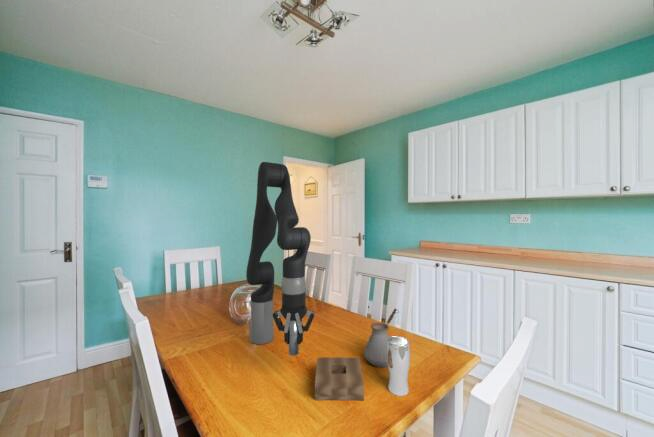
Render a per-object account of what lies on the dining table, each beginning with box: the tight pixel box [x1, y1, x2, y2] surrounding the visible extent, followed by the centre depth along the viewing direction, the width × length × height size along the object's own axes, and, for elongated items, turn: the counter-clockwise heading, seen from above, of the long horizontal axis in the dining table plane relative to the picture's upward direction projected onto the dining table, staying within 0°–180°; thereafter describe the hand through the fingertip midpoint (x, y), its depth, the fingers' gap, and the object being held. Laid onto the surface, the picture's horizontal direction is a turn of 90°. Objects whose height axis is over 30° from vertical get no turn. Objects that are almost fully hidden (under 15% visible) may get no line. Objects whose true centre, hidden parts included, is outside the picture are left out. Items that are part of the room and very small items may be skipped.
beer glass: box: [386, 335, 411, 397], centre depth 83 cm, size 7×7×15 cm
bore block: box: [314, 357, 365, 401], centre depth 86 cm, size 14×14×5 cm
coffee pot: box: [363, 308, 400, 368], centre depth 103 cm, size 21×12×15 cm, turn 143°
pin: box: [288, 320, 300, 356], centre depth 88 cm, size 3×3×11 cm
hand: (293, 342), depth 88 cm, fingers closed on pin, 3 cm apart
